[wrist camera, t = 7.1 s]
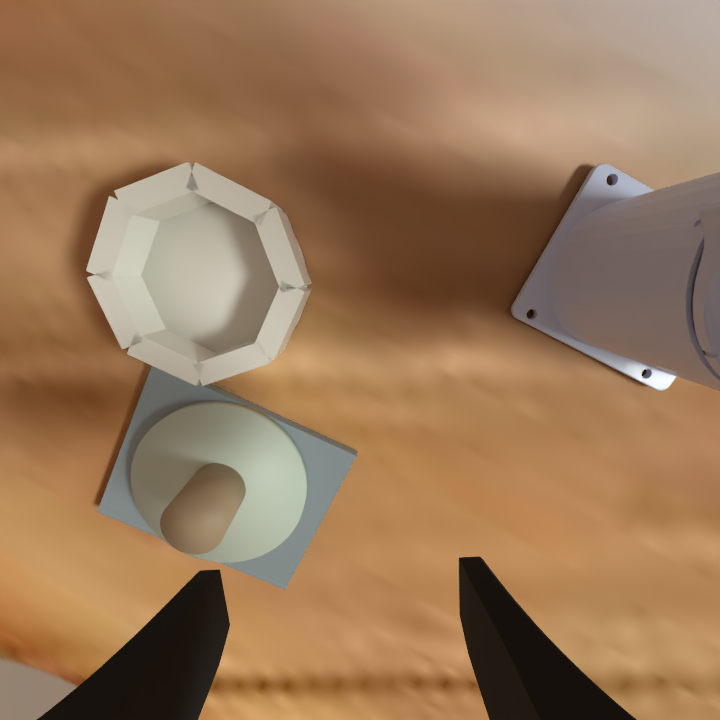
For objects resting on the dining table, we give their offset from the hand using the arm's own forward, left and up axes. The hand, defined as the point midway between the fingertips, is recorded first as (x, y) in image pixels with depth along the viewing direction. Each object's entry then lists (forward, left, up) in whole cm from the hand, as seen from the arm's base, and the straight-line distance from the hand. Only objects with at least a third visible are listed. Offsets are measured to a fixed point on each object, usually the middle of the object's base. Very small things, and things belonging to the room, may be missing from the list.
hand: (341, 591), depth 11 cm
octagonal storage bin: (+10, -5, -10) cm, 15 cm away
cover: (+6, +5, -10) cm, 12 cm away
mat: (+6, +6, -10) cm, 13 cm away
